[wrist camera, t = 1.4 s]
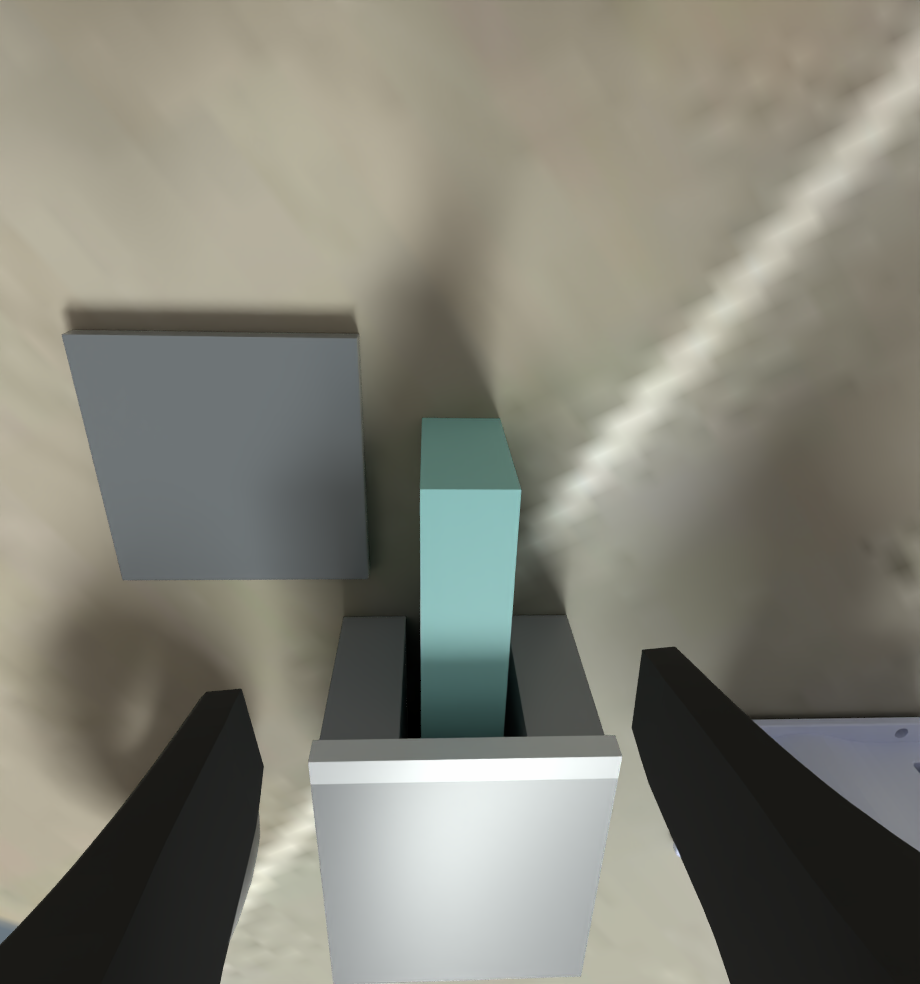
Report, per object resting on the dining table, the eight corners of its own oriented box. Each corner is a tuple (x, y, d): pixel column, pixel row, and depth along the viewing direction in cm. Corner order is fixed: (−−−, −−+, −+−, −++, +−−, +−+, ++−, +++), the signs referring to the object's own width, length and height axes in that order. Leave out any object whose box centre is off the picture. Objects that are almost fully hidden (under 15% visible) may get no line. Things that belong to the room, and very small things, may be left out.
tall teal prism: (499, 416, 20) (521, 489, 15) (485, 687, 25) (498, 806, 20) (421, 416, 20) (419, 489, 15) (422, 688, 24) (421, 807, 20)
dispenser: (568, 597, 23) (622, 756, 16) (545, 791, 27) (580, 975, 21) (342, 598, 22) (308, 762, 16) (356, 795, 27) (333, 984, 20)
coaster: (359, 334, 18) (356, 338, 18) (369, 569, 22) (368, 579, 21) (72, 329, 18) (61, 334, 17) (130, 570, 21) (122, 580, 21)
